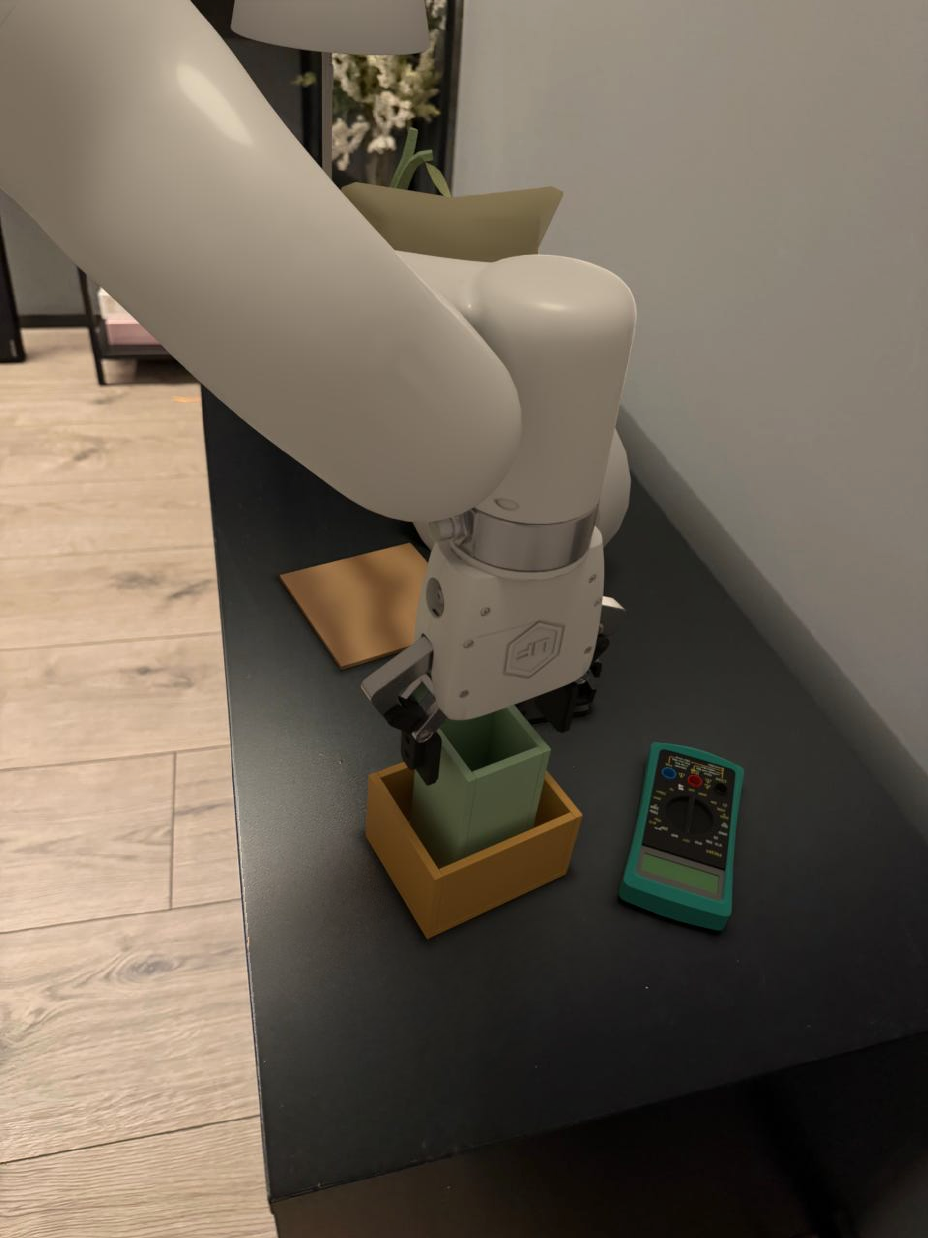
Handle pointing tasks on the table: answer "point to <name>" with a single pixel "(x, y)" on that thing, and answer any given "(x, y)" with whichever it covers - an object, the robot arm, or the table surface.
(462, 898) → the ochre bin
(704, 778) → the digital multimeter
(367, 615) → the cork mat
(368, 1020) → the table surface
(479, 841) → the sage tub
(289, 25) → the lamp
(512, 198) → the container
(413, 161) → the potted plant
